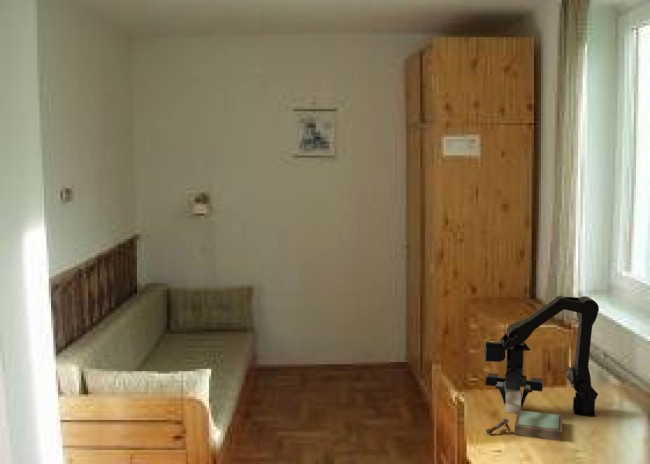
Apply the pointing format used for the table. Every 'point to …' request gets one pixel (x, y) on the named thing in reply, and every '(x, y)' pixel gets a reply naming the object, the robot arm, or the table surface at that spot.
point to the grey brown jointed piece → (499, 427)
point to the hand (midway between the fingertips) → (513, 406)
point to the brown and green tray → (539, 425)
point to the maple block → (513, 400)
